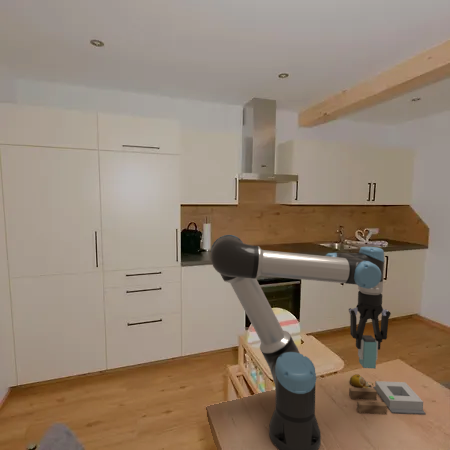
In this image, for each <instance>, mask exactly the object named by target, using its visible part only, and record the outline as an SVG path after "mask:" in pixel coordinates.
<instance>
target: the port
mask: <svg viewBox="0 0 450 450" xmlns="http://www.w3.org/2000/svg"><path fill="white" fill-rule="evenodd" d="M374 383H375V384H374V385H372V388H374V389H375V390H376V391H377V395H378V396H379V398H380V399H381V400H382V402H384V403H385V404H386V405H387V410H389V412H390V413H391V414H397V415H398V414H402V415H419V416H420V415H421V416H422V415H425V416H426V414H427V413H426V412H425V411H424V401H423V400H422V399H421V397H420V396H419V395H418V394H417V393H416V392H415V391H414V390H413V389H412V388H411V387H410V385H408V384H407V382H406V381H383V380H382V381H375V382H374Z"/></svg>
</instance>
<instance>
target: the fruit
mask: <svg viewBox="0 0 450 450" xmlns="http://www.w3.org/2000/svg"><path fill="white" fill-rule="evenodd" d="M349 383H350V384H351V386H353V388H371V386H374V383H373V382H371V381H366V379H365V378H364V377H363V376H361V375H360V374H358V373H357V374H356V373H355V374H353V375H351V376H350V378H349ZM370 384H371V385H370Z"/></svg>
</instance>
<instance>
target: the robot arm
mask: <svg viewBox="0 0 450 450" xmlns="http://www.w3.org/2000/svg"><path fill="white" fill-rule="evenodd" d="M210 248H211V250H210V263H211V265H212V267H213V268H214V270H215V271H216V272H217V273H219V274H220V277H222V280H223V281H224V282H226V283H227V284H230V286H231V288H232V290H233V291H234V293H235V295H236V297H237V299H238V301H239V304H240V305H241V306H242V309H243V310H244V312H245V314H246V316H247V318H248V320H249V322H250V323H251V325H252V327H253V328H254V329H253V330H254V331H255V334H257V337H258V338H259V341H260V345H259V350H260V352H261V354H262V356H263V358H264V360H265V362H266V363H267V365H268V368H269V370H270V373H271V377H272V380H273V382H274V387H275V388H274V389H275V403H274V404H275V407H274V410H273V414H272V416H271V419H270V421H269V432H268V434H269V437H270V441H271V442H272V443H273V445H274V446H275V447H276V448H277V449H278V450H319V448H320V447H321V439H322V438H321V437H322V435H321V429H320V426H319V422H318V420H317V418H316V382H317V374H316V367H315V364H314V363H313V361H312V360H311V359H310V358H309V357H308V356H306V355H305V356H304V354H302V353H300V351H299V349H298V346H297V345H296V343H295V341H294V339H293V338H292V336H291V334H290V332H289V331H287V330H283V327H282V326H281V324H280V321H279V320H278V318H277V316H276V314H275V311H274V310H273V308H272V307H271V304H270V303H269V300H268V299H267V297H266V295H265V292H264V291H263V289H262V287H261V285H260V284H259V281H258V280H257V278H260V277H261V276H262V277H270V278H271V277H272V278H282V279H283V278H284V279H293V280H303V281H304V280H305V281H306V280H307V281H316V282H327V283H338V284H346V285H347V284H348V285H355V286H357V287H358V288H357V289H358V290H359V291H357V292H358V293H357V305H356V307H354V308H352V307H351V308H348V312H349V316H350V317H349V318H350V319H349V320H350V321H349V325H350V332H349V333H350V336H351V337H352V338H353V339H355V347H356V348H357V357H358V358H359V357H360V359H363V351H364V341H363V340H362V336H363V335H364V334H365V333H364V332H365V328H366V324H367V322H368V320H371V324H372V329H373V336H374V337H373V338H374V339H375V342H376V343H377V348H376V361H378V352H379V350H381V345H382V344H381V343H382V342H383V340H385V341H386V340H387V338H388V329H389V320H390V317H391V315H392V313H391V311H389V310H388V309H385V308H383V306H382V305H383V290H384V270H385V269H384V268H385V252H384V249H382V248H380V247H376V246H361V247H360V249H359V251H358V252H354V253H353V252H352V253H351V252H328V253H326V254H325V255H317V254H309V253H308V254H307V253H297V252H288V251H287V252H286V251H275V250H268V249H267V250H266V249H265V250H264V249H262V248H261V247H260V246H259V245H251V244H248V243H247V244H246V243H244V242H243V241H242V240H241V238H240V237H238V236H236V235H232V234H225V235H221V236H220V237H218V238H217V239H215V241H214V242H213V244H211V247H210ZM358 313H359V321H358V325H357V315H358ZM380 315H381V317H380V318H381V320H380V319H379V316H380ZM379 323H380V324H379Z"/></svg>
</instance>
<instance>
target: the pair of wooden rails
mask: <svg viewBox="0 0 450 450" xmlns="http://www.w3.org/2000/svg"><path fill="white" fill-rule="evenodd" d="M348 389H349V390H348V396H349V398H350V399H351V400H356V411H357V413H358V414H366V415H367V414H369V415H387V412H388V407H387V405H386V404H385V403H384V402H383V401H377V395H378V393H377V391H376V390H375V389H374V388H373V387H370V388H356V387H349V388H348ZM369 400H370V401H369Z"/></svg>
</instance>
